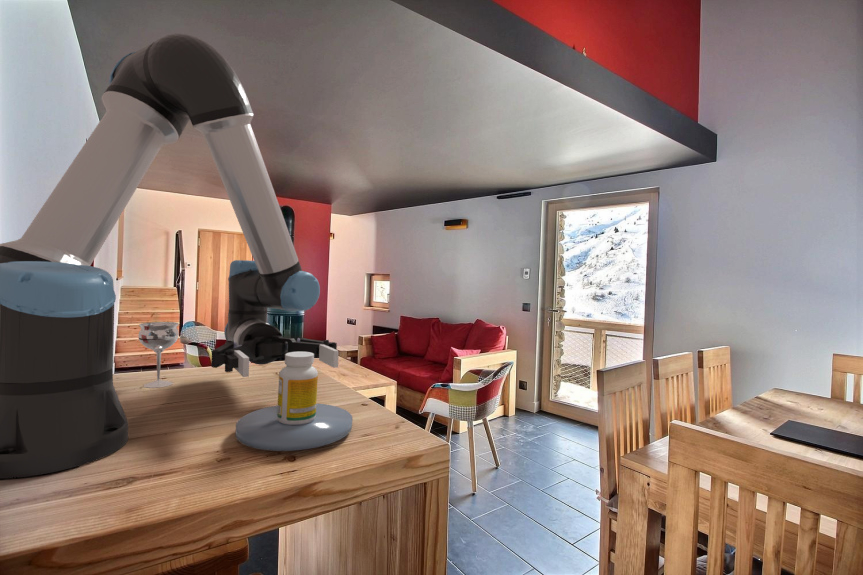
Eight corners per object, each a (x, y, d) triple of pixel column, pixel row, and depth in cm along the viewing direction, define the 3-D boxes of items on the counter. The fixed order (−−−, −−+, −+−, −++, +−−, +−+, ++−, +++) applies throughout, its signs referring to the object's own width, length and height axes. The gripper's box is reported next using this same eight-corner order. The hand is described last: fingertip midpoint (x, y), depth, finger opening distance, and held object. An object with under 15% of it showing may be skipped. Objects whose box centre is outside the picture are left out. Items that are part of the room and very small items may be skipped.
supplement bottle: (268, 421, 61) (271, 354, 61) (295, 411, 66) (297, 349, 65) (298, 428, 59) (301, 359, 58) (323, 417, 64) (326, 353, 63)
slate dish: (276, 469, 51) (276, 452, 51) (214, 433, 61) (214, 419, 61) (374, 433, 63) (374, 419, 63) (309, 408, 73) (310, 397, 73)
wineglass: (157, 390, 81) (158, 327, 80) (128, 387, 82) (129, 324, 82) (186, 381, 87) (187, 323, 87) (158, 378, 89) (159, 321, 88)
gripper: (320, 355, 90) (367, 378, 72) (184, 367, 75) (200, 399, 58) (321, 320, 89) (368, 334, 72) (184, 324, 75) (201, 343, 58)
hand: (293, 363), depth 65 cm, fingers open, 13 cm apart
